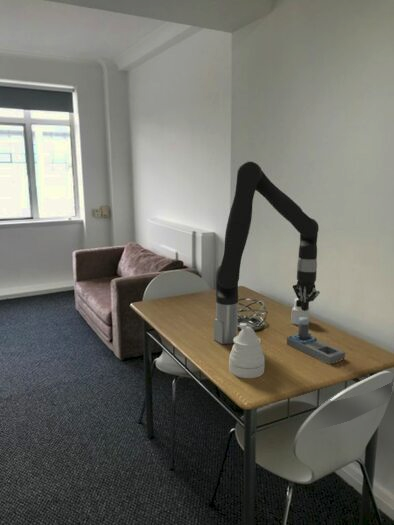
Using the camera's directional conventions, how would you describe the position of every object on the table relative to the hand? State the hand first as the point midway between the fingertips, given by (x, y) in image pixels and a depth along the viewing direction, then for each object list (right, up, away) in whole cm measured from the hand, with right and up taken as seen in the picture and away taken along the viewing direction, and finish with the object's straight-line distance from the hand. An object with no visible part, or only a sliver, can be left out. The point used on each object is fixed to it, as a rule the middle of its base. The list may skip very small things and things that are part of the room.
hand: (304, 310), depth 173 cm
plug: (0, -15, +3) cm, 16 cm away
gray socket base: (+3, -16, -2) cm, 17 cm away
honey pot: (-26, -20, -17) cm, 37 cm away
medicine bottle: (+5, -10, +30) cm, 32 cm away
